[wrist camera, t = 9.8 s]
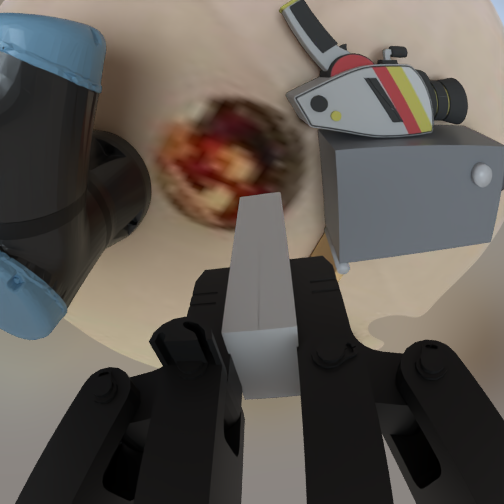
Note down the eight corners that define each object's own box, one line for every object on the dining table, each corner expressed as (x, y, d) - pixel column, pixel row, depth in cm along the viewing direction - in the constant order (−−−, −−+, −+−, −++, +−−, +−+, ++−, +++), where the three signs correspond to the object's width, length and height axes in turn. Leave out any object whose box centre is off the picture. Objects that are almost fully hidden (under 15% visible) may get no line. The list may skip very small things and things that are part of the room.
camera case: (325, 223, 39) (341, 270, 31) (317, 129, 33) (337, 153, 24) (470, 207, 37) (508, 245, 29) (478, 126, 30) (526, 150, 22)
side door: (323, 221, 39) (336, 260, 32) (336, 227, 39) (352, 266, 32) (273, 306, 47) (274, 350, 40) (285, 310, 48) (288, 353, 41)
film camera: (427, 10, 24) (439, 122, 31) (268, 6, 25) (291, 134, 33) (460, 3, 18) (472, 135, 26) (274, -10, 19) (302, 147, 27)
